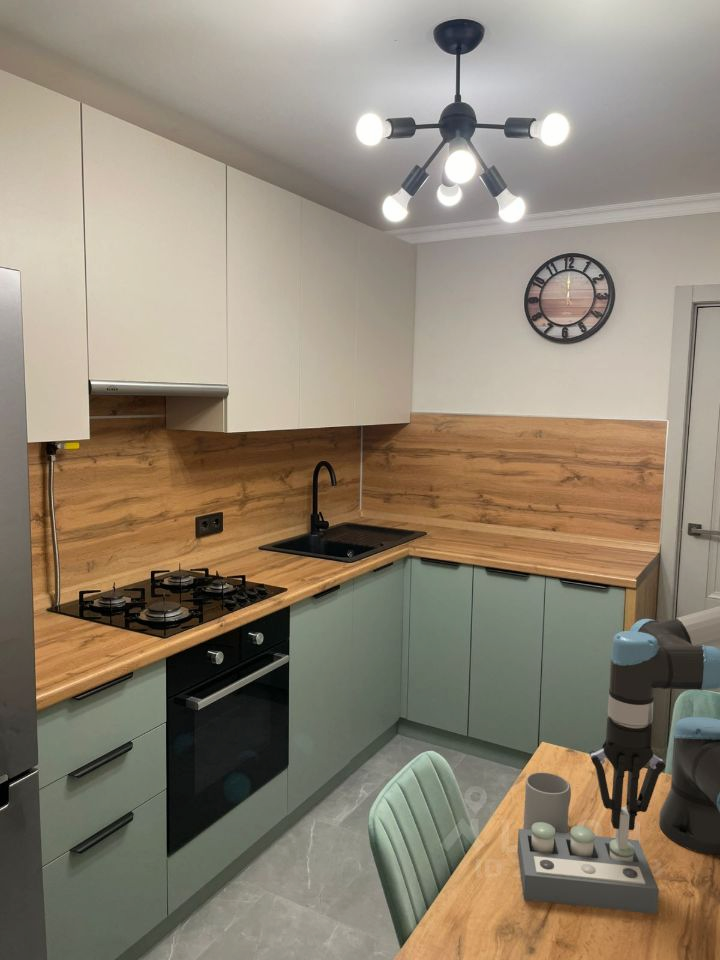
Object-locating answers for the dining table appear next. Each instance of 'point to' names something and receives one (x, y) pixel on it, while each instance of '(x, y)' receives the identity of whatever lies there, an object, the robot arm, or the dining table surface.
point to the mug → (547, 801)
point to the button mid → (582, 841)
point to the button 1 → (542, 838)
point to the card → (588, 870)
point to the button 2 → (621, 852)
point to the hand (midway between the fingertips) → (621, 844)
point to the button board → (582, 888)
